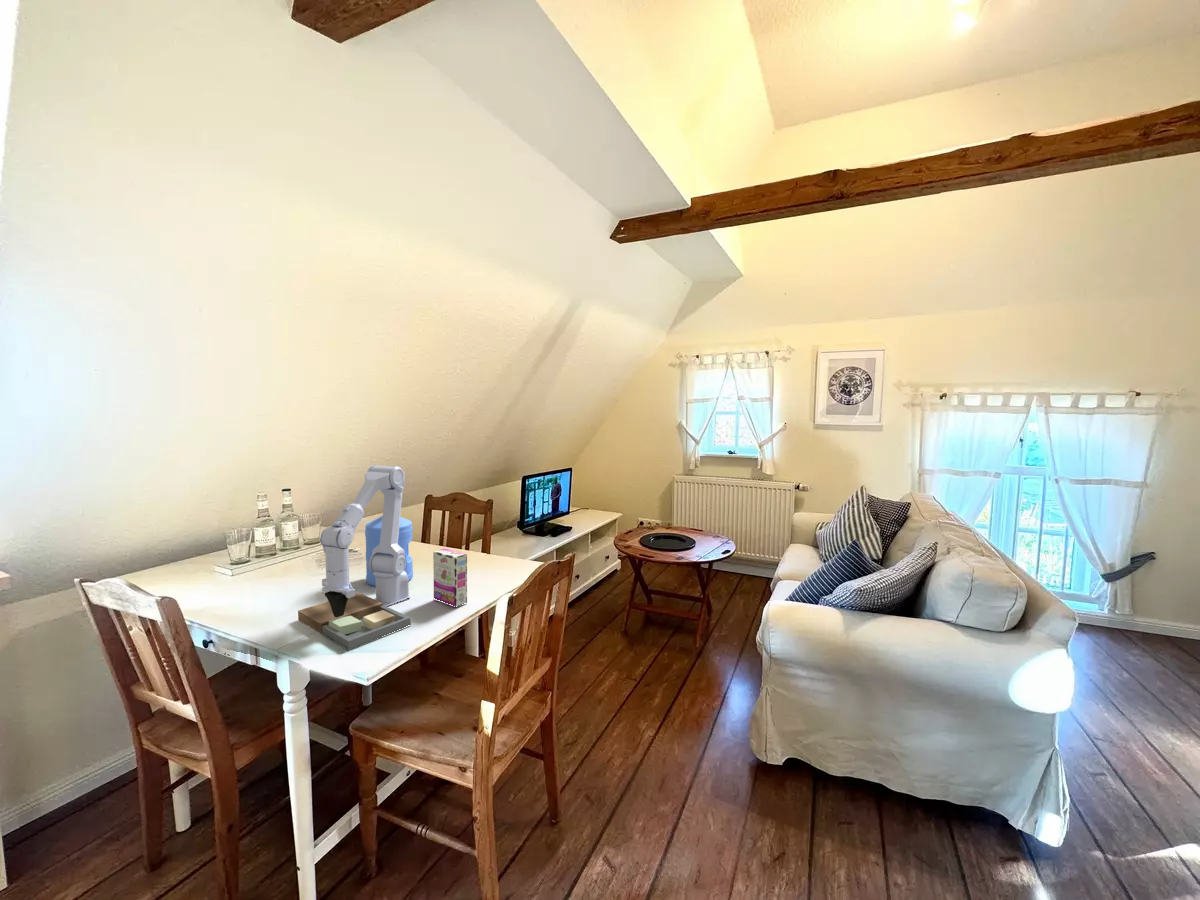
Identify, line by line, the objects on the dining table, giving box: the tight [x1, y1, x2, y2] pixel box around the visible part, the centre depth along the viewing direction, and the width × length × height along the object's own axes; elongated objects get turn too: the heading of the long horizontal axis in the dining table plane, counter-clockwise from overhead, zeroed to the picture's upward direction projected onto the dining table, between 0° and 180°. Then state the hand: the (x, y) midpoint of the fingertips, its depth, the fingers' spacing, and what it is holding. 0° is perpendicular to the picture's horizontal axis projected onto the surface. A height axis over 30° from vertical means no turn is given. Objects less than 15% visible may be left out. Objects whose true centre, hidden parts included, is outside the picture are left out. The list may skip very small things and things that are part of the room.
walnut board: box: [297, 592, 383, 635], centre depth 147 cm, size 18×14×3 cm
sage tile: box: [329, 616, 362, 635], centre depth 136 cm, size 6×6×2 cm
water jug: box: [364, 515, 414, 587], centre depth 176 cm, size 16×16×28 cm
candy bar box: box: [432, 548, 468, 608], centre depth 159 cm, size 11×5×16 cm, turn 56°
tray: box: [321, 605, 412, 651], centre depth 138 cm, size 18×14×2 cm
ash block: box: [363, 610, 395, 630], centre depth 141 cm, size 6×6×2 cm
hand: (338, 615), depth 138 cm, fingers closed
